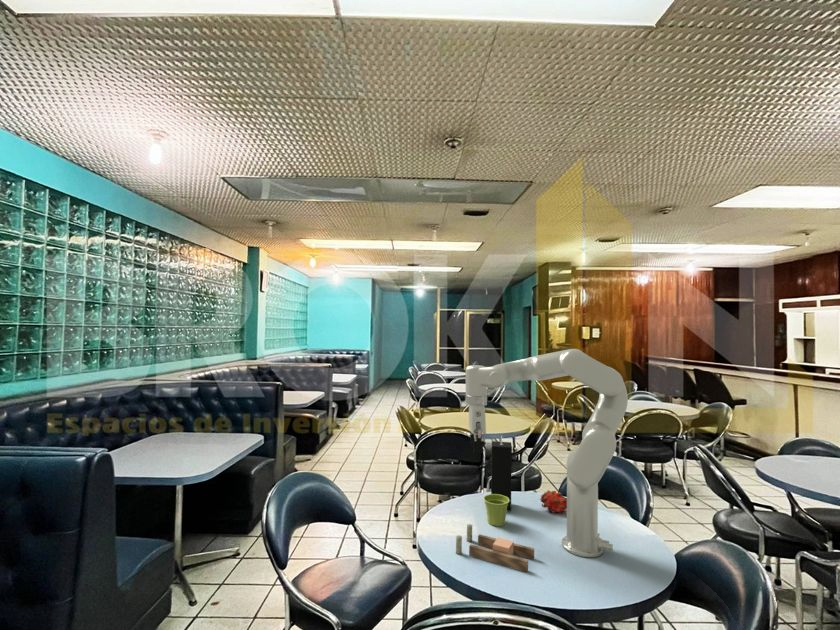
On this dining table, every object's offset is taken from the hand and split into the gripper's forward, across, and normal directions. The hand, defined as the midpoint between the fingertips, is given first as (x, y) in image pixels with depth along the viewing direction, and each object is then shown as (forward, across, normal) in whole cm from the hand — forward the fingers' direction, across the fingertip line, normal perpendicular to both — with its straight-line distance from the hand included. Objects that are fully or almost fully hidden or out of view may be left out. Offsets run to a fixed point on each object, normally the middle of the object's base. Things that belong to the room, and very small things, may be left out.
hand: (476, 448), depth 150 cm
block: (+28, -18, -5) cm, 34 cm away
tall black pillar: (+29, +21, -12) cm, 37 cm away
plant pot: (+29, +6, -8) cm, 30 cm away
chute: (+28, -16, -3) cm, 33 cm away
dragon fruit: (+29, +17, -33) cm, 48 cm away
